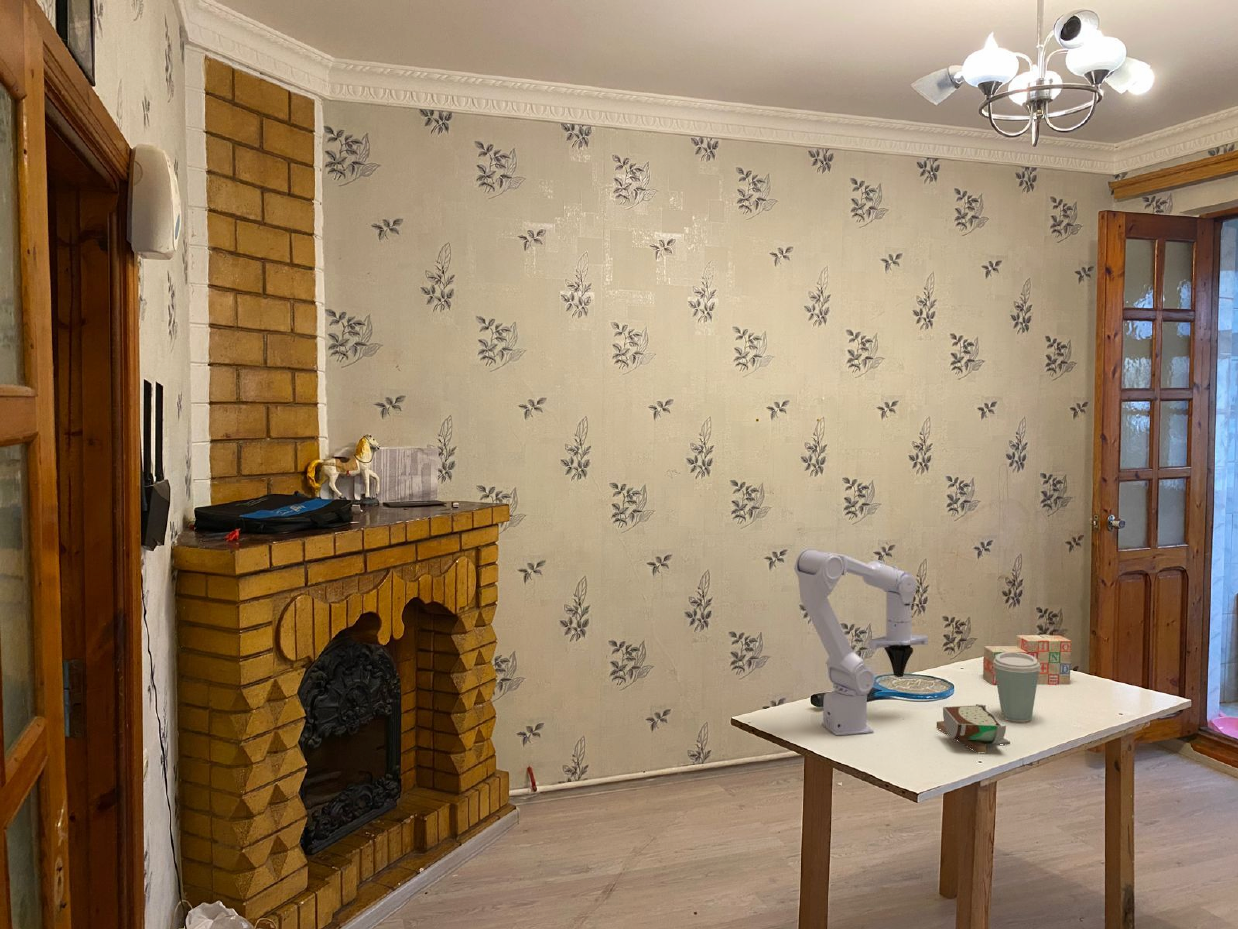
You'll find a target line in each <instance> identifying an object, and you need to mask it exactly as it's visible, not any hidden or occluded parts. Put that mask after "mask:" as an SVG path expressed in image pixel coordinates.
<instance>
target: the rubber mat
mask: <svg viewBox="0 0 1238 929" xmlns="http://www.w3.org/2000/svg"><path fill="white" fill-rule="evenodd" d="M977 741H979V740H977ZM979 742H980V743H982V744H984V745H985V746H988V747H994V746H993V745H999V746H1001V745H1000V744H1003V745H1002V746H1006V745H1005V744H1010V745H1011V741H1010V740H1008V739H1006V738H1005V737H1004V738H1003V739H1002V740H1001V741H999V742H998V743H994V744H988V743H986V742H985V741H979Z"/></svg>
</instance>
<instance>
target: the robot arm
mask: <svg viewBox="0 0 1238 929" xmlns="http://www.w3.org/2000/svg"><path fill="white" fill-rule="evenodd" d="M793 569H794V572H795V574H796V576H797V578H798V589H799V597H800V600H801V602H802V605H803V607H804V609H805V611H806V613H807V614H808V617H809V619H810V620H811V623H812V625H813V627H814V629H815V632H816V634H817V635H818V636H819V639H820V641H821V643H822V645H823V647H824V649H825V651H826V653H827V655H828V658H827V659H826V662H825V665H826V667H827V677H828V679H829V681H830V683H832V688H833V689H834V690H832V691H829V692H825V693H824V696H823V703H822V704H823V711H822V713H823V714H822V716H823V718H822V722H821V725H822V726H823V727H825V728H826V729H827V730H829V731H830V732H831V733H833V734H834V735H835V736H844V735H855V734H856V735H858V734H868V733H870V734H871V733H874V729H873V728H871V726H868V724H867V714H868V713H867V711H868V710H867V709H868V708H867V707H868V706H867V705H868V704H867V703H868V699H867V698H868V694H870V691H871V690H872V688H873V687H874V684H875V679H876V677H875V673H874V671H873V669H872V668H870V667H869V666H868V665H867V664H866V662H865V660H863V658H862V657H860V656H859V655H858V654H857V653H856V652H854V650H853V649H852V646H851V645H850V642H849V640H848V638H847V635H846V634H845V632H844V630H843V627H842V626H841V624H840V622H839V620H838V617H837V615H836V614H835V611H834V609H833V607H832V605H831V603H830V601H829V599H828V597H829V596H830V595H831V594H832V592H833V591H834V590H835V587H836V585H837V584H838V582H839V580H840V579H841V578H842V576H846V573H848V574H852V575H856V576H859V577H861V578H862V580H863V582H864V583H865V584H866V585H868V586H871V587H874V588H877V589H880V590H883V591H884V592H885V595H886V599H885V600H886V605H885V606H886V607H885V608H886V609H885V610H886V615H885V616H886V617H885V619H886V620H885V625H886V626H885V631H886V632H885V633H886V634H885V636H880V637H875V638H869V639H868V647H869V648H870V649H872V650H877V649H882V648H884V651H885V652H886V654H887V656H888V658H889V661H890V663H891V668H892V671H893V676H895V677H897V678H902V677H904V674H905V670H906V666H907V664H908V661H909V660H910V658H911V656H912V655H913V652H914V648H913V647H912V646H917V645H918V646H919V645H923V646H929V637H928V636H926V635H925V634H921V635H920V634H912V603H913V600H914V595H915V592H916V590H917V588H918V582H917V581H916V578H915V577H914V575H913V574H912V572H910V571H904V570H900V569H899V567H898V566H895V565H891V566H889V565H887V564H885V561H883V560H879V559H876V560H872V561H869V562H868V563H866V562H863V561H860V560H858V559H855V558H853V557H850V556H849V555H848V556H847V555H846V554H845V555H844V554H840V553H835V552H829V551H822V550H814V549H811V548H805V549H803V550H802V551H800V553H799V554H798V556H797V557H796V561H795V564H794V567H793Z"/></svg>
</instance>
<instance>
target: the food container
mask: <svg viewBox="0 0 1238 929" xmlns="http://www.w3.org/2000/svg"><path fill="white" fill-rule="evenodd" d="M986 709H987V708H986V704H980V703H979V704H975V705H956V706H943V707H942V716H943V721H944V724H945V728H946V731H947V734H948V735H947V734H946V735H947V736H948V737H949V738H951V739H954V740H955V739H965V740H979V741H985V742H986V743H988V744H994V743H998V742H999V741H1001V740H1002V739H1003V738H1004V739H1005V735H1006V730H1007V725H1001V724H1000V723H999V722H998V721H997V719H996V718H995V716H994V715H993V714H992V713H990V712H989V711H987V710H986Z"/></svg>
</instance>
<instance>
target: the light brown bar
mask: <svg viewBox="0 0 1238 929" xmlns="http://www.w3.org/2000/svg"><path fill="white" fill-rule="evenodd" d="M937 728H938V730H939V729H941V730H940V732H942V731H943V733H944V732H945V733H946V735H947V731H946V728H945V724H944V720H941V721H936V729H937ZM945 733H944V734H945ZM957 740H958V741H959V742H958V741H957ZM955 741H957V742H958V743H959V744H961V745H963V744H964V746H965V747H966V746H968V747H969V748H968V747H967V748H968V749H970V748H971V749H973V750H974V751H976V752H977V753H976V752H975V753H976V754H979V753H978V752H985V753H986V749H987V748H986V746H985V745H984V744H982V743H980V742H979V741H977V740H965V739H956V740H955ZM971 749H970V750H971ZM973 750H972V751H973ZM974 751H973V752H974Z"/></svg>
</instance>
